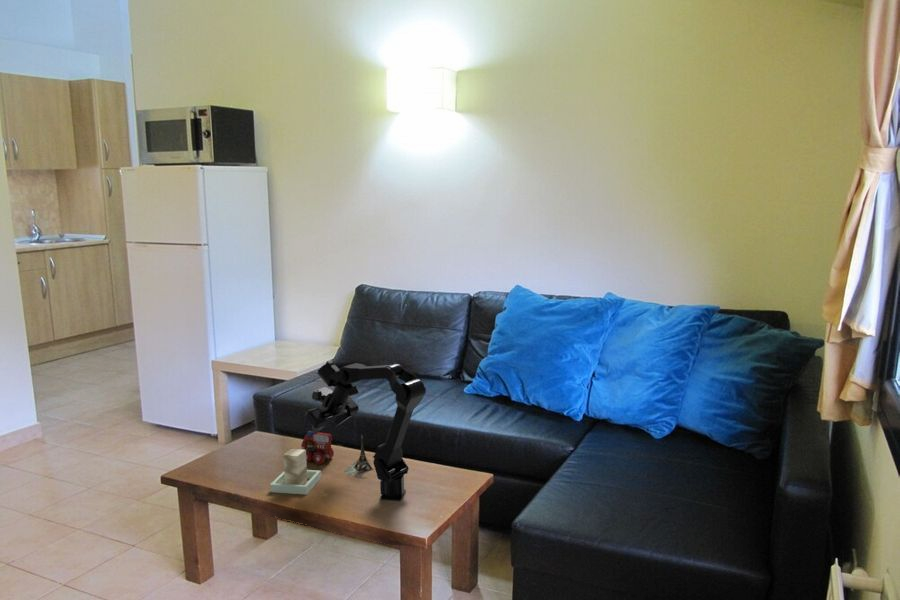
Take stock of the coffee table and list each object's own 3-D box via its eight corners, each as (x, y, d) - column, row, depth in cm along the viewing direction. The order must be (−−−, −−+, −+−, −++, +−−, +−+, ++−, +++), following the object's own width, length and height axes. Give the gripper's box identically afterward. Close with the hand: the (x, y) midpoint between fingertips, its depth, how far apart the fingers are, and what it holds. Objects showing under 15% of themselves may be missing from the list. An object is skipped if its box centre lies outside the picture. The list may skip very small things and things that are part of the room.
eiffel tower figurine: (358, 459, 236) (357, 423, 234) (385, 462, 232) (383, 426, 230) (338, 476, 222) (336, 438, 220) (366, 480, 218) (364, 441, 216)
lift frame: (321, 477, 219) (320, 470, 219) (306, 494, 207) (306, 486, 207) (286, 475, 222) (286, 468, 221) (270, 492, 209) (270, 484, 209)
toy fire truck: (309, 453, 241) (308, 426, 239) (337, 459, 235) (336, 430, 234) (297, 460, 235) (295, 432, 233) (326, 466, 229) (324, 437, 228)
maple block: (307, 482, 216) (305, 449, 215) (299, 489, 211) (297, 456, 209) (293, 480, 218) (291, 448, 216) (285, 487, 212) (283, 454, 211)
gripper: (346, 373, 225) (331, 406, 233) (303, 386, 211) (288, 420, 218) (366, 395, 221) (350, 428, 228) (324, 409, 206) (307, 444, 213)
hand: (324, 429), depth 222 cm, fingers open, 9 cm apart
